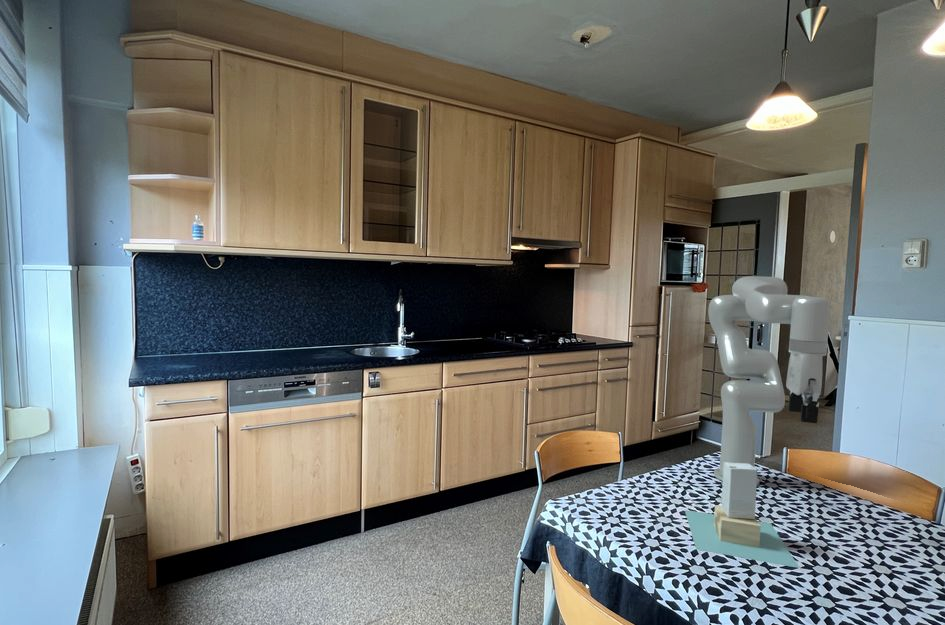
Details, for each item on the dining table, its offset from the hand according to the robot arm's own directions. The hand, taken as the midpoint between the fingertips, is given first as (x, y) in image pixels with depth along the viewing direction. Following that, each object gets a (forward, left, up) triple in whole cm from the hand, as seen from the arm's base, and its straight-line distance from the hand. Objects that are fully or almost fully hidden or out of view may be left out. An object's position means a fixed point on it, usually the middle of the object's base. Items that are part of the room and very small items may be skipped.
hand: (802, 416), depth 115 cm
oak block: (+10, -15, -28) cm, 33 cm away
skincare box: (+10, -15, -23) cm, 29 cm away
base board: (+10, -15, -29) cm, 34 cm away
